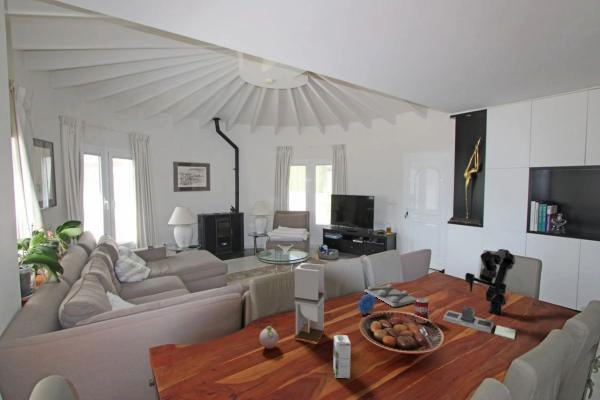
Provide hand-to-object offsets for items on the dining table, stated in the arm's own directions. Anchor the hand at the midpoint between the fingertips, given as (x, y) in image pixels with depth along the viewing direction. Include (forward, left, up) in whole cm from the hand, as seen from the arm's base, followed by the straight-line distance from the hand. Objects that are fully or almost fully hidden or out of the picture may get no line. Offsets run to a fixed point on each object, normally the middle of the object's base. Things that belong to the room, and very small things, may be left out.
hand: (480, 295), depth 151 cm
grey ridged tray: (-9, -52, -17) cm, 56 cm away
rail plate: (-1, -5, -16) cm, 17 cm away
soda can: (+14, -25, -17) cm, 34 cm away
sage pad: (-1, +11, -16) cm, 20 cm away
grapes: (+24, -53, -17) cm, 61 cm away
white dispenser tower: (+66, -62, -17) cm, 93 cm away
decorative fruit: (+86, -70, -17) cm, 113 cm away
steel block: (-1, -5, -17) cm, 17 cm away
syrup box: (+80, -35, -17) cm, 89 cm away
